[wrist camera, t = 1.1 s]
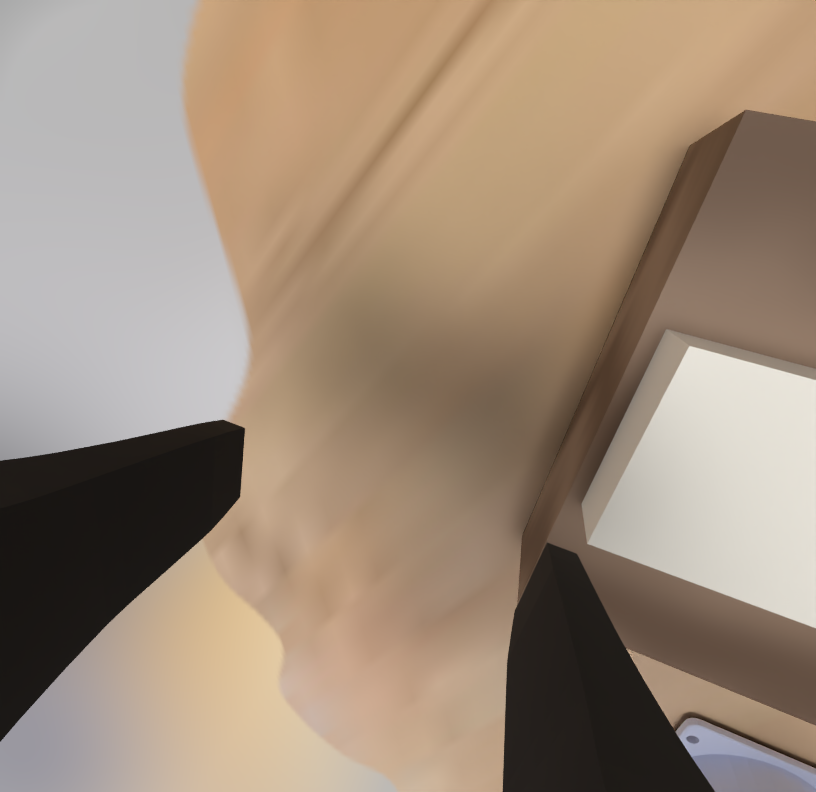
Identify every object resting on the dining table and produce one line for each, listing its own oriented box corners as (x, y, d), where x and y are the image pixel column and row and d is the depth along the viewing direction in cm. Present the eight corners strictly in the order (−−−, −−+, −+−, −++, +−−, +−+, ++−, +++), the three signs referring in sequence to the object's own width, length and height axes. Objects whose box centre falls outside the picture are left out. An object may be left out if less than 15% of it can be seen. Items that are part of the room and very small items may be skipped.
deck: (809, 644, 17) (880, 751, 14) (522, 536, 19) (517, 603, 16) (1184, 238, 11) (1504, 238, 7) (689, 145, 13) (745, 109, 9)
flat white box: (897, 615, 12) (959, 681, 10) (581, 503, 14) (586, 543, 12) (1075, 438, 10) (1196, 483, 8) (666, 328, 11) (689, 345, 10)
